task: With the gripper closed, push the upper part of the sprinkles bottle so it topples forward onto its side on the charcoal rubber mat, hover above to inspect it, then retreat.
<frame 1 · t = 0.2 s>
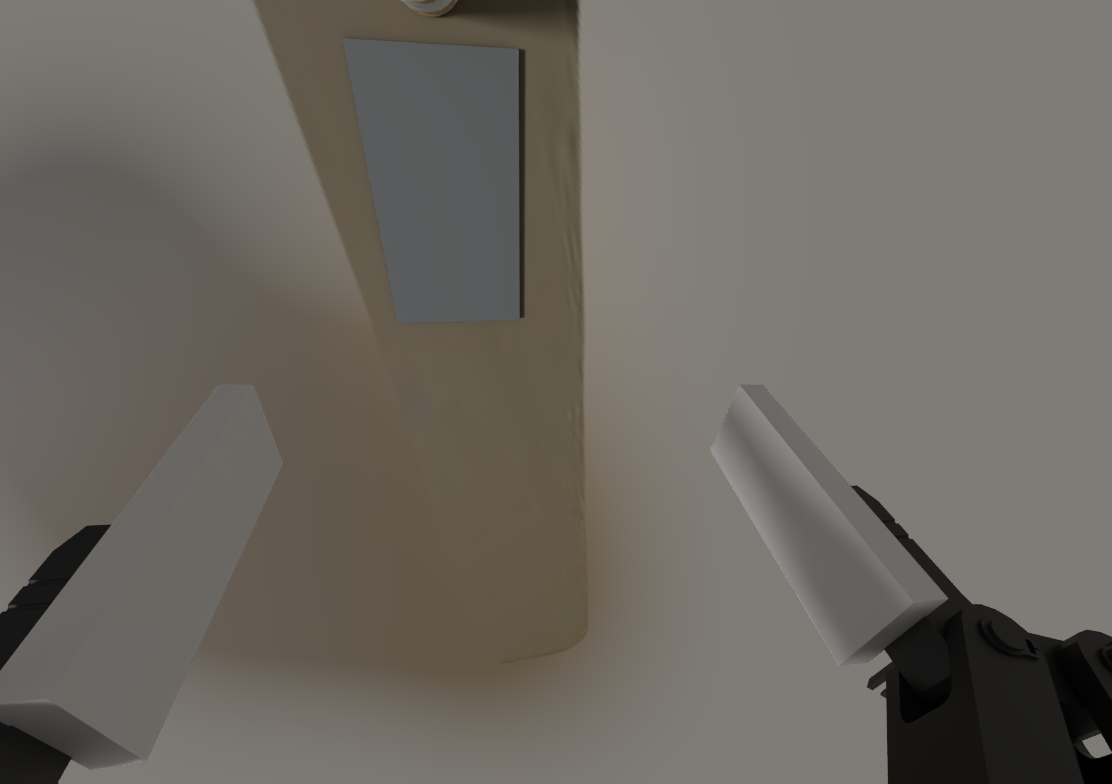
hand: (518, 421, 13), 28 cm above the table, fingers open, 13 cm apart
mat: (448, 205, 34), on the table
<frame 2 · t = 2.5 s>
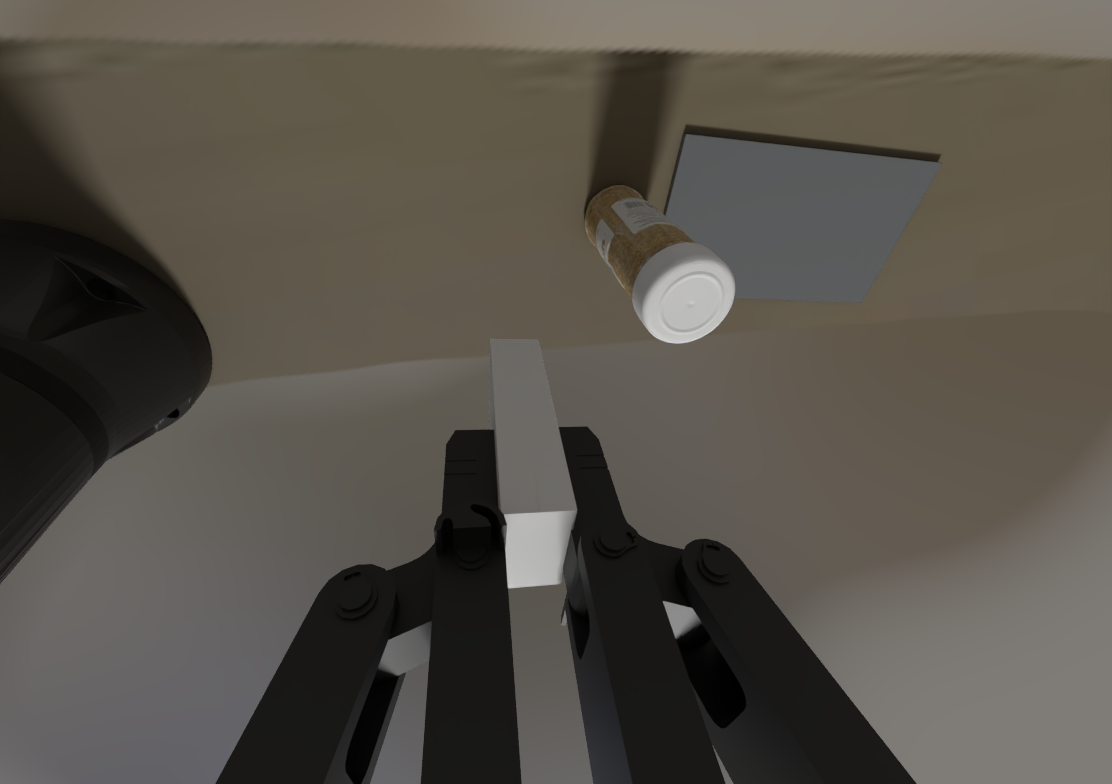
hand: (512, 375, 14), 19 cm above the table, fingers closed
sprinkles bottle: (614, 217, 31), on the table
mat: (784, 230, 33), on the table
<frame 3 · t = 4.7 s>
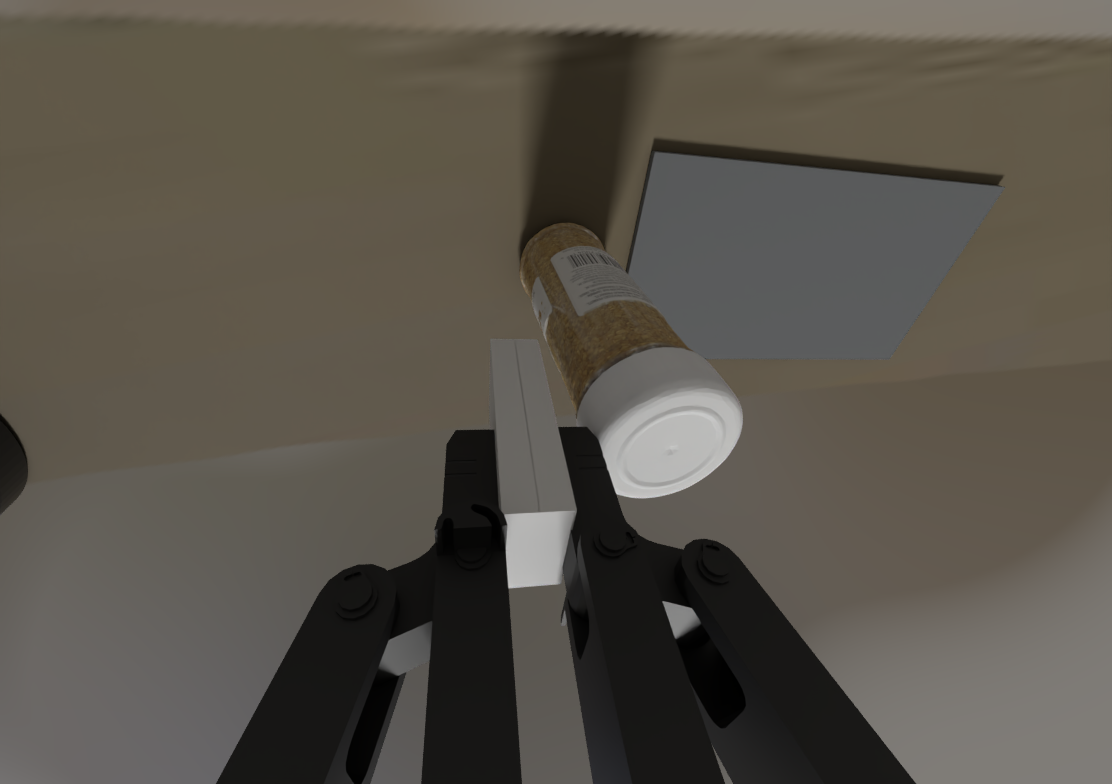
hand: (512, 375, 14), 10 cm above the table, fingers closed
sprinkles bottle: (561, 263, 23), on the table, touching gripper
mat: (792, 274, 25), on the table
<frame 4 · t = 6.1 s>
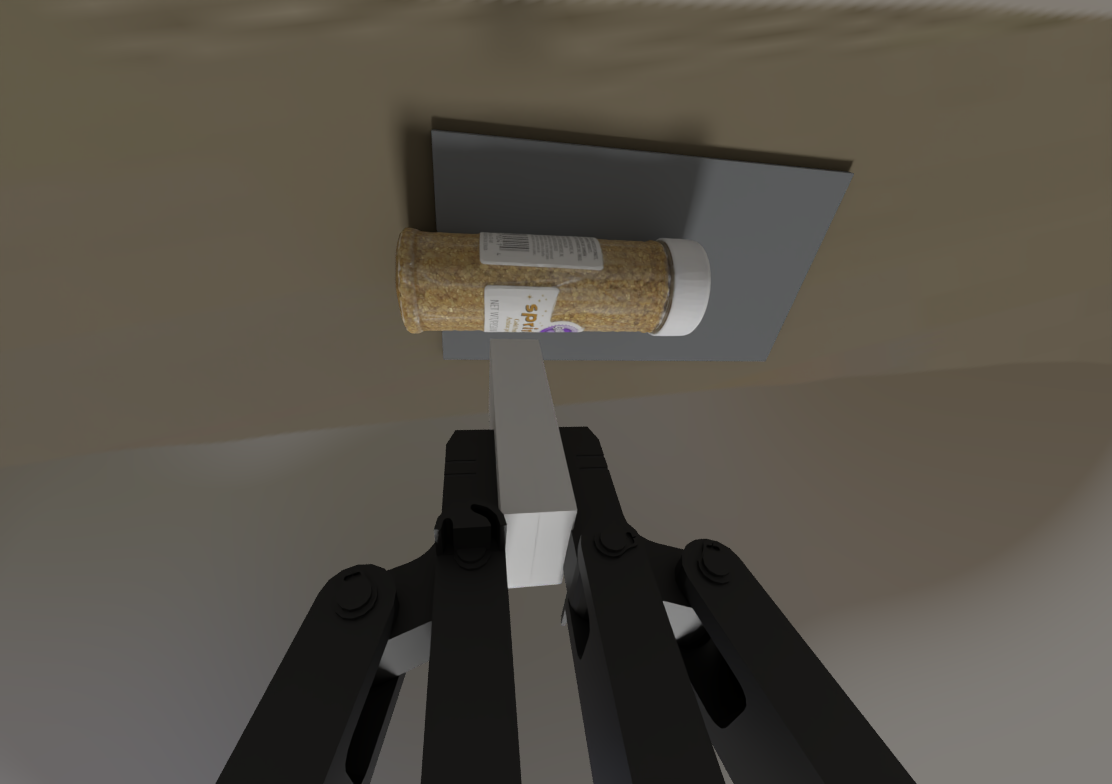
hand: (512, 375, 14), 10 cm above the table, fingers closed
sprinkles bottle: (398, 280, 19), point 2 cm above the table, touching mat
mat: (634, 269, 23), on the table
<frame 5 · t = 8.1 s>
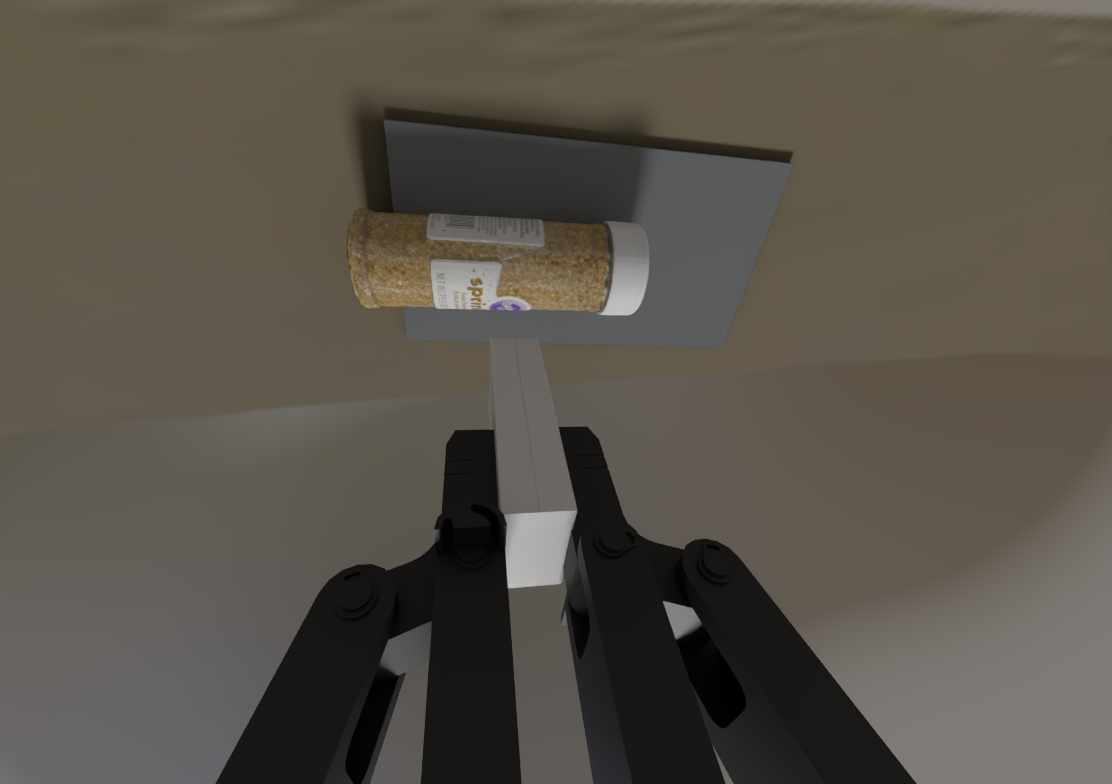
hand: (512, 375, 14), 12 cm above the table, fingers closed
sprinkles bottle: (354, 258, 20), point 2 cm above the table, touching mat
mat: (586, 254, 24), on the table
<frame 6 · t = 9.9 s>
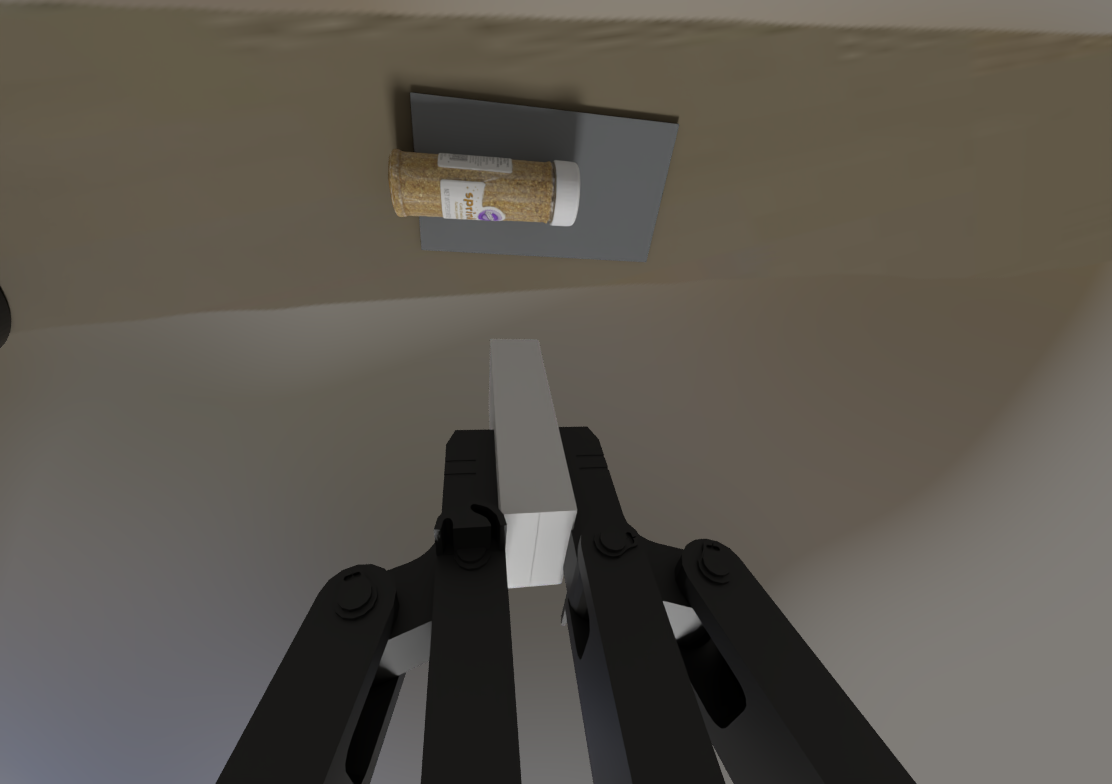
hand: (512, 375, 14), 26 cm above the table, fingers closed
sprinkles bottle: (390, 183, 32), point 2 cm above the table, touching mat
mat: (544, 188, 36), on the table
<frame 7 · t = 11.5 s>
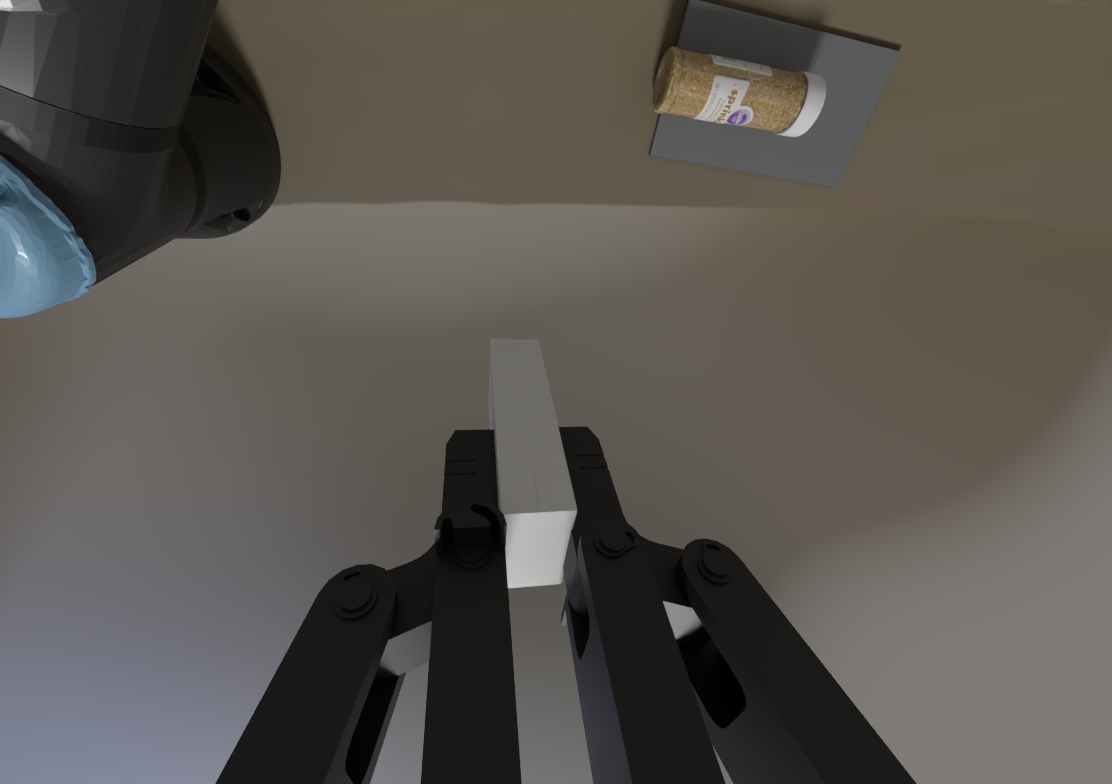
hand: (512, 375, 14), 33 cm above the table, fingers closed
sprinkles bottle: (658, 79, 35), point 2 cm above the table, touching mat
mat: (769, 104, 40), on the table
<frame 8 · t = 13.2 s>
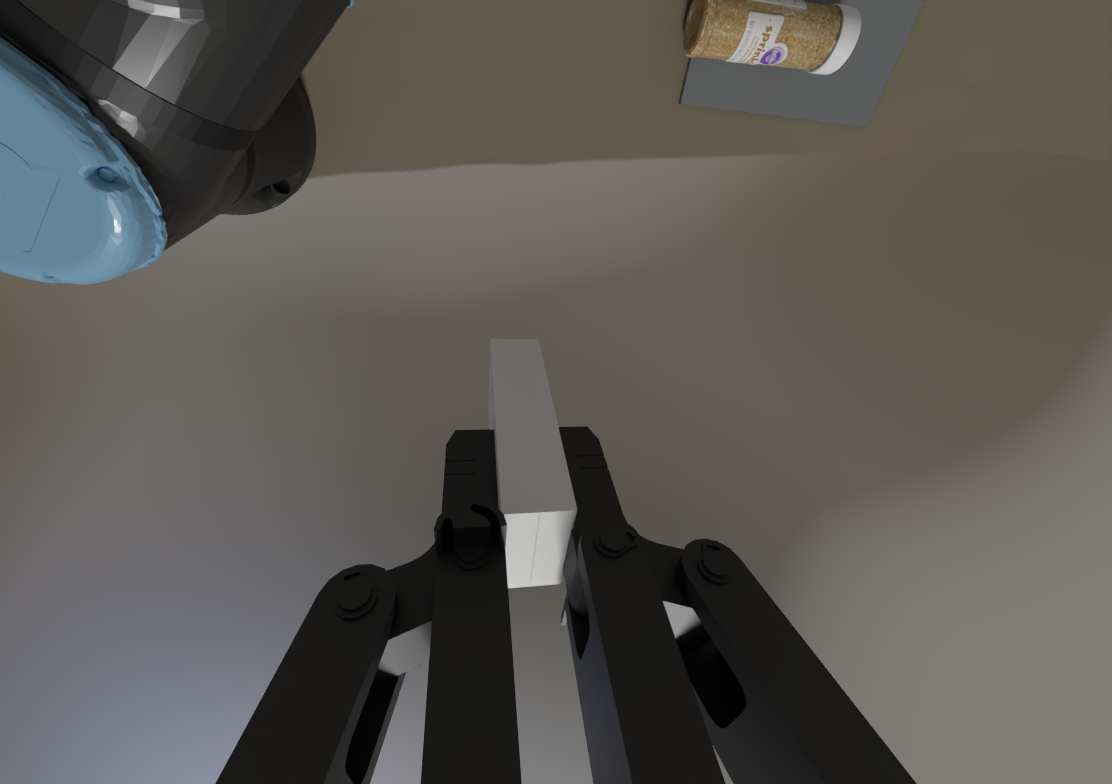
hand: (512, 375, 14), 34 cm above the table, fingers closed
sprinkles bottle: (690, 21, 35), point 2 cm above the table, touching mat
mat: (800, 43, 39), on the table
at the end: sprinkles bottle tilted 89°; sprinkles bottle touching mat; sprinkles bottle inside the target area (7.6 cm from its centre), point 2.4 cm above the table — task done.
